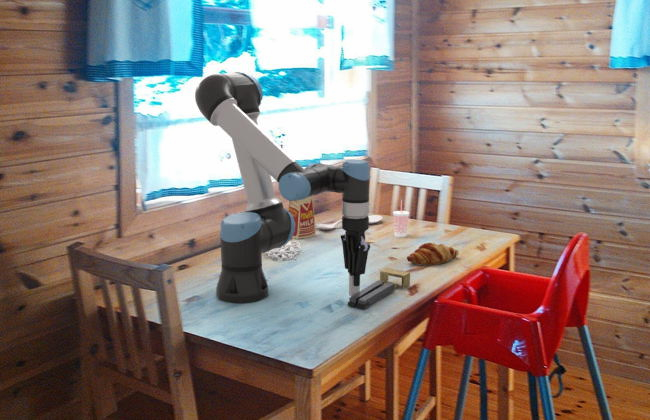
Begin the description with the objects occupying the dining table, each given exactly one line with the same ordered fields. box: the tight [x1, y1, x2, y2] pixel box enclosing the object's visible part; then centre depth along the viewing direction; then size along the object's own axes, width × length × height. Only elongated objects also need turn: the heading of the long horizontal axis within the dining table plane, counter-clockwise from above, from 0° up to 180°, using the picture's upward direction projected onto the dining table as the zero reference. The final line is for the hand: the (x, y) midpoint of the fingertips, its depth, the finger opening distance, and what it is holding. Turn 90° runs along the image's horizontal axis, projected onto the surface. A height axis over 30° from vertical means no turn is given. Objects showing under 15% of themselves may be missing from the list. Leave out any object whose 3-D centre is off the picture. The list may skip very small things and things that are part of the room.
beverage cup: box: [392, 199, 410, 238], centre depth 279 cm, size 6×6×14 cm
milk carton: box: [287, 195, 316, 240], centre depth 278 cm, size 9×9×20 cm
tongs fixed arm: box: [355, 281, 398, 310], centre depth 213 cm, size 23×5×2 cm, turn 147°
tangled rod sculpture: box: [262, 240, 302, 261], centre depth 257 cm, size 19×14×4 cm
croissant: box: [406, 242, 460, 266], centre depth 248 cm, size 21×10×8 cm, turn 121°
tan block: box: [379, 267, 411, 289], centre depth 223 cm, size 4×8×4 cm, turn 57°
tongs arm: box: [347, 279, 385, 308], centre depth 212 cm, size 18×2×2 cm, turn 149°
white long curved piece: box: [315, 214, 384, 231], centre depth 295 cm, size 9×32×4 cm, turn 124°
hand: (354, 295), depth 210 cm, fingers closed
